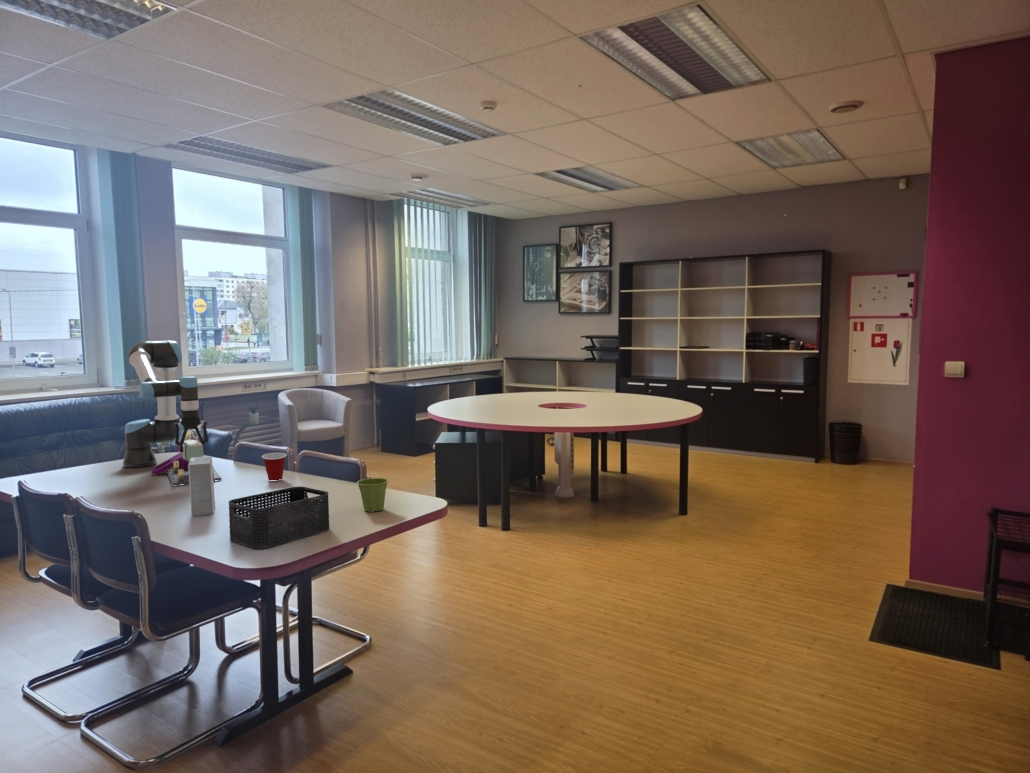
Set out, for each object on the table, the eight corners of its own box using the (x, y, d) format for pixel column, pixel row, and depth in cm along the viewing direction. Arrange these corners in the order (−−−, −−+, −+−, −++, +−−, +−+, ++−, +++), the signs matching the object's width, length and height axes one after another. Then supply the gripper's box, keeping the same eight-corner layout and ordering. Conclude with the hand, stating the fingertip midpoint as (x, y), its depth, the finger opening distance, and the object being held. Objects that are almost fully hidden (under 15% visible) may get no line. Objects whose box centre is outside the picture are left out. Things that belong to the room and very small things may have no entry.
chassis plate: (167, 474, 323) (166, 461, 322) (212, 469, 333) (211, 456, 333) (173, 486, 298) (172, 472, 297) (221, 480, 308) (220, 466, 308)
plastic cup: (261, 483, 301) (260, 457, 300) (264, 478, 311) (263, 453, 310) (286, 482, 303) (285, 456, 302) (288, 477, 314) (287, 452, 313)
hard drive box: (193, 507, 262) (191, 457, 260) (215, 505, 264) (212, 455, 263) (190, 517, 247) (187, 464, 246) (213, 515, 250) (210, 462, 248)
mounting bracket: (162, 487, 322) (198, 466, 332) (153, 472, 319) (189, 452, 329) (158, 483, 330) (193, 463, 339) (149, 469, 327) (184, 450, 336)
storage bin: (300, 520, 242) (298, 484, 241) (334, 529, 230) (332, 491, 229) (225, 541, 219) (223, 501, 218) (259, 552, 207) (257, 510, 206)
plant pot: (389, 505, 261) (388, 476, 260) (389, 513, 250) (389, 483, 249) (358, 507, 259) (357, 478, 258) (357, 515, 247) (356, 485, 246)
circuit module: (181, 457, 319) (180, 440, 318) (195, 455, 323) (194, 439, 322) (189, 462, 307) (189, 445, 306) (203, 460, 310) (203, 443, 310)
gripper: (167, 411, 305) (170, 461, 306) (213, 408, 315) (216, 457, 317) (166, 410, 311) (169, 459, 313) (211, 407, 321) (213, 454, 323)
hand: (192, 458), depth 315 cm, fingers closed on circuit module, 6 cm apart
